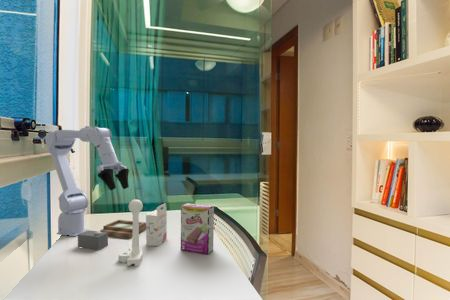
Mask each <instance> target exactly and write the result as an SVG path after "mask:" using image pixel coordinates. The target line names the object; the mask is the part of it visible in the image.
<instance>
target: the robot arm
mask: <svg viewBox="0 0 450 300" xmlns="http://www.w3.org/2000/svg"><path fill="white" fill-rule="evenodd" d="M112 135H113V134H112V131H111V129H110V128H108V127H98V126H93V127H91V126H88V125H87V126H84V127H82V128H80V129H79V130H77V129H76V130H74V129H61V130H60V129H59V130H53V131H52V130H51V131H48V132H47V134H46V135H45V140H44V141H45V145H46V147H47V150H48V153H49V154H50V156H51V158H52V162H53V165H54V167H55V170H56V174H57V176H58V180H59V183H60V186H61V189H62V192H61V194H60V195H59V197H58V202H59V203H58V204H59V209H60V211H61V213H60V214H59V216H58V217H57V218H58V219H57V224H58V225H57V229H58V232H57V233H56V235H61V236H67V235H69V237H78V234H80V233H82V232H85V231H87V230H89V229H86V228H85V211H86V209H87V208H88V207H89V202H90V201H89V198H88V196H87V195H86V194H85V192H84V191H85V190H82V189H80V188H78V186H77V183H76V181H75V179H74V176H73V172H72V169H71V167H70V166H71V165H70V163H69V160H68V158H67V154H69V153H70V152H71V150H72V148H73V146H74V145H75V143H76V140H77V139H79V140H80V141H81V142H84V143H85V142H86V143H93V145H94V147H95V148H96V151H97V154H98V156H99V160H100V161H101V164H100V165H98V166H96V170H97V172H98V173H97V177H98V178H99V179H100V180H102V181H103V182H104V183H105V185H106V186H107V188H108V189H109V190H110V191H113V190H115V189H116V188H117V186H116V185H117V184H116V182H115V178H114V177H116V179H117V180H118V182H119V183H120V185H121V187H122V189H123V190H126V189H128V188H129V187H130V186H129V173H130V169H129V168H127V165H123V164H122V161H119V160H118V157H117V154H116V152H115V148H114V145H113V144H112ZM114 172H117V173H116V174H115V175H114Z"/></svg>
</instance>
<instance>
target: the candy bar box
mask: <svg viewBox="0 0 450 300" xmlns="http://www.w3.org/2000/svg"><path fill="white" fill-rule="evenodd" d="M214 218H215V206H214V205H210V204H209V205H208V204H197V203H192V202H191V203H188V202H187V203H184V204H182V205H181V207H180V251H184V252H191V253H197V254H204V255H210V253H211V252H213V251H214V232H215V230H214V228H215V227H214V226H215V225H214V222H215V220H214Z"/></svg>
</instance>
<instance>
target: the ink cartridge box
mask: <svg viewBox="0 0 450 300" xmlns="http://www.w3.org/2000/svg"><path fill="white" fill-rule="evenodd" d="M167 211H168V210H167V203H166V202H164V203H163V204H161V205H159V206H157V207H156V209H155V210H152V211H151V212H149V213H147V214H145V223H146V230H145V232H146V233H145V235H146V236H145V241H146V243H145V244H146V246H151V247H153V246H154V247H159V246H160V245H161V244H162V243H163V242H164V241H165V240H167V233H168V231H167V225H168V223H167V216H168V215H167V213H168V212H167Z"/></svg>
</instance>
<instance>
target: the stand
mask: <svg viewBox="0 0 450 300" xmlns="http://www.w3.org/2000/svg"><path fill="white" fill-rule="evenodd" d="M132 229H133V220H126V219H125V220H124V219H117V220H114V221H112V222H110V223H108V224H106V225H103V229H100V230H99V231H100V232H107V233H108V237H111V238H112V237H113V238H120V239H121V238H122V239H129V240H130V239H132ZM144 231H146V221H144V222H143V221H139V234H140V233H143V232H144Z"/></svg>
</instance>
